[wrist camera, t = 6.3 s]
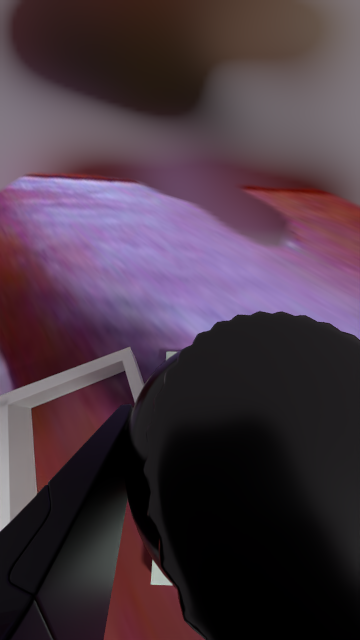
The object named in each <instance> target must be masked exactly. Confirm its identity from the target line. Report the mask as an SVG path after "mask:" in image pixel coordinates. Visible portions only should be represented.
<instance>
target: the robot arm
mask: <svg viewBox="0 0 360 640" xmlns="http://www.w3.org/2000/svg"><path fill="white" fill-rule="evenodd" d="M132 409H133V408H132V405H131V404H126V405H121V406H120V407H119V408H118V409H117V410H116V411H115V412H114V413H113V414H112V415H111V416H110V417H109V418H108V419H107V420H106V421H105V423H104V424H103V425H102V426H101V427H100V428H99V429H98V430H97V431H96V432H95V433H94V434H93V435H92V436H91V437H90V439H89V440H88V441H87V442H86V443H85V444H84V445H83V446H82V447H81V448H80V449H79V450H78V451H77V452H76V453H75V454H74V456H73V457H72V458H71V459H70V460H69V461H68V462H67V463H66V464H65V465H64V466H63V467H62V468H61V469H60V470H59V472H58V473H57V474H56V475H55V476H54V477H53V478H52V479H51V480H50V481H49V482H48V485H45V486H44V487H43V488H42V489H41V491H40V492H39V493H38V494H37V495H36V496H35V497H34V498H33V499H32V500H31V501H30V502H29V503H28V504H27V505H26V506H25V507H24V508H23V509H22V510H21V511H20V512H19V513H18V514H17V515H16V516H15V518H14V519H13V520H12V521H10V522H9V523H8V524H7V525H6V526H5V527H4V528H3V529H2V530H1V531H0V640H103V639H104V633H105V627H106V621H107V615H108V609H109V604H110V598H111V592H112V586H113V580H114V574H115V568H116V563H117V557H118V551H119V545H120V539H121V533H122V527H123V522H124V516H125V510H126V504H127V498H128V497H127V492H126V486H125V477H124V445H125V438H126V431H127V427H128V422H129V418H130V415H131V412H132Z"/></svg>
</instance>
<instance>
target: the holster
mask: <svg viewBox="0 0 360 640" xmlns="http://www.w3.org/2000/svg"><path fill="white" fill-rule="evenodd" d="M123 371H126V375H127V378H128V381H129V385H130V388H131V392H132V395H133V398H134V402H136V400H137V397H138V395H139V394H140V392H141V390H142V388H143V386H144V382H143V379H142V376H141V373H140V370H139V367H138V364H137V361H136V358H135V356H134V354H133V352H132V350H131V348H130V347H128V348H125V349H122V350H120V351H117V352H114V353H112V354H109V355H106V356H104V357H101V358H98V359H96V360H93V361H90V362H88V363H85V364H82V365H80V366H77V367H74V368H72V369H69V370H66V371H64V372H61V373H58V374H56V375H53V376H50V377H48V378H45V379H42V380H40V381H37V382H34V383H32V384H29V385H26V386H24V387H21V388H18V389H16V390H13V391H10V392H8V393H5V394H2V395H0V531H1V530H2V529H3V528H4V527H5V526H6V525H7V524H8V523H9V522H10V521H12V520H13V519H14V518H15V516H16V515H17V514H18V513H19V512H20V511H21V510H22V509H23V508H24V507H25V506H26V505H27V504H28V503H29V502H30V501H31V500H32V499H33V498H34V497H35V496H36V495H37V487H36V472H35V458H34V443H33V429H32V414H31V408H33V407H35V406H38V405H40V404H43V403H45V402H48V401H50V400H53V399H55V398H58V397H60V396H63V395H65V394H68V393H70V392H73V391H75V390H78V389H81V388H83V387H86V386H88V385H91V384H93V383H96V382H98V381H101V380H103V379H106V378H108V377H111V376H113V375H116V374H118V373H121V372H123Z"/></svg>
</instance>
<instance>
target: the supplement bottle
mask: <svg viewBox="0 0 360 640" xmlns="http://www.w3.org/2000/svg"><path fill="white" fill-rule="evenodd" d="M124 477H125V486H126V492H127V497H128V502H129V506H130V509H131V513H132V516H133V519H134V522H135V525H136V527H137V530H138V533H139V535H140V537H141V539H142V541H143V543H144V545H145V547H146V549H147V551H148V552H149V554H150V556H151V557H152V559H153V561H154V562H155V564H156V565H157V566H158V568H159V569H160V570H161V572H162V573H163V575H164V576H165V577H166V578H167V579H168V580H169V581H170V582H171V584H172V585H173V586H174V587H175V588H176V589H177V590H178V599H179V603H180V607H181V611H182V615H183V618H184V621H185V622H186V623H187V624H188V625H189V626H190V627H191V628H192V629H193V630H194V631H196V632H197V633H198V634H199V635H201V636H202V637H203V638H204V639H205V640H360V340H359V339H358V338H357V337H356V336H354V335H352V334H349V333H345V332H342V331H340V330H339V329H337V328H336V327H334V326H333V325H331V324H330V323H325V322H317V321H315V320H313V319H312V318H310V317H308V316H306V315H299V316H293V315H291V314H288V313H285V312H277V313H274V314H271V313H266V312H261V311H259V312H256V313H254V314H252V315H237V316H235V317H234V318H233V319H232V320H230V321H221V322H217V323H216V324H215V325H214V326H213V327H212V328H211V330H209V331H205V332H202V333H199V334H198V335H197V336H196V337H195V339H194V341H193V344H192V345H191V346H188V347H186V348H184V349H182V350H180V351H179V352H177V353H175V354H174V355H172V356H171V357H170V358H168V359H167V360H166V361H165V362H163V363H162V364H161V365H160V366H159V367H158V368H157V369H156V370H155V372H154V373H153V374H152V375H151V376H150V378H149V379H148V380H147V382H146V383H145V385H144V386H143V388H142V390H141V392H140V394H139V395H138V397H137V400H136V402H135V404H134V407H133V409H132V412H131V415H130V418H129V422H128V427H127V431H126V438H125V445H124Z"/></svg>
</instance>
